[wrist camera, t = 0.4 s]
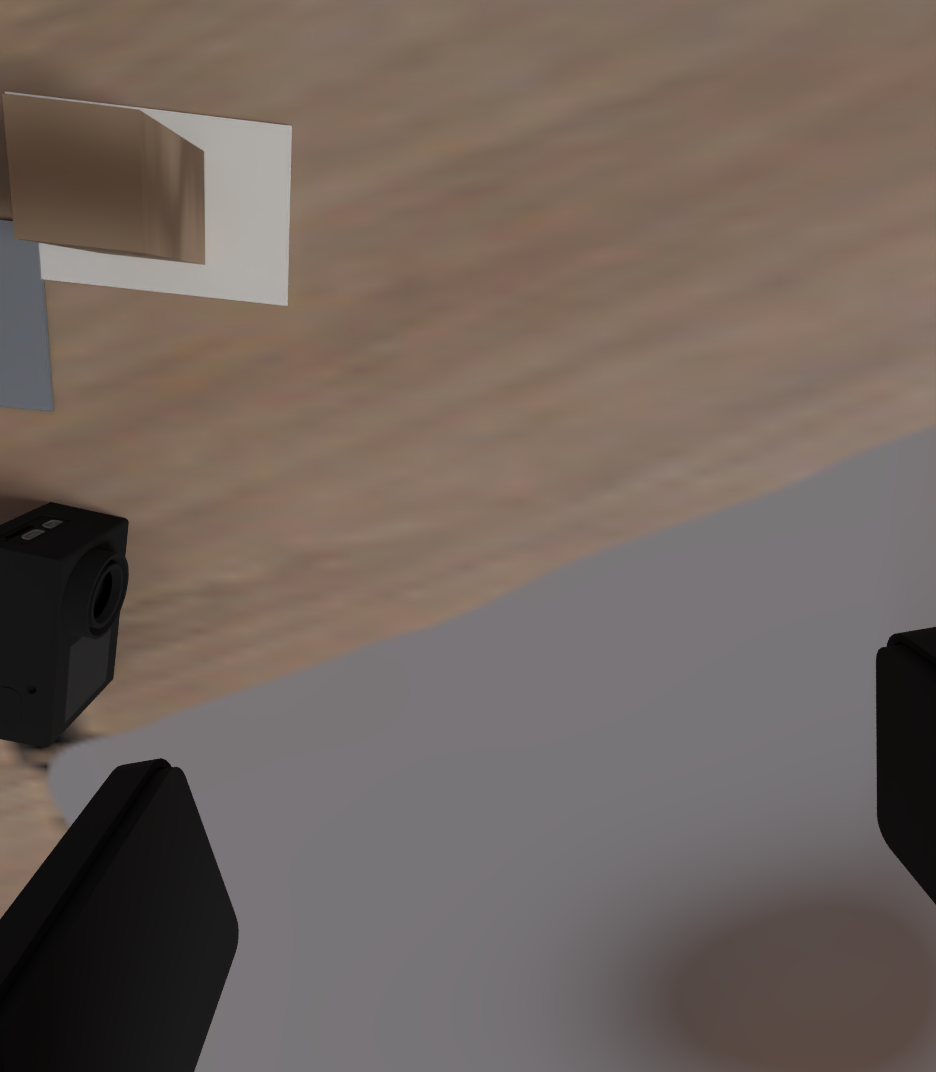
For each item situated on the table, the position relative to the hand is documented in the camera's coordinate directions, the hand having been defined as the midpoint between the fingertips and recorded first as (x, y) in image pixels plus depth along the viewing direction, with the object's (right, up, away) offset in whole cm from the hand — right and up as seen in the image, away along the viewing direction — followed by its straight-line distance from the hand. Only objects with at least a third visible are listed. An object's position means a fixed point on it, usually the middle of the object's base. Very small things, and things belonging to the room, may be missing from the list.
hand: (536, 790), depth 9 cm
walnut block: (-16, +19, +24) cm, 35 cm away
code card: (-16, +19, +24) cm, 35 cm away
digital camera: (-22, 0, +31) cm, 38 cm away
